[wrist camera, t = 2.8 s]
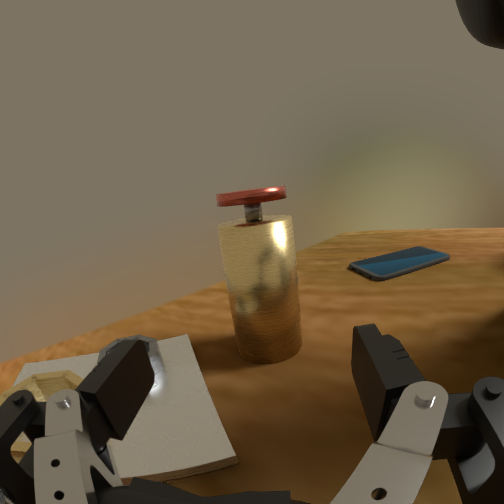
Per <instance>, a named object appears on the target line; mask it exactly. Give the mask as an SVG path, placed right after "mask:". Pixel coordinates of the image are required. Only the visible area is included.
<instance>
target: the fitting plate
mask: <svg viewBox="0 0 504 504" xmlns="http://www.w3.org/2000/svg"><path fill="white" fill-rule="evenodd" d="M124 339H137V340H142V341H143V342H144V344H145V347H146V350H147V353H148V356H149V359H150V361H151V364H152V367H153V370H154V374H155V381H154V385H153V387H152V389H151V390H150V392H149V394H148V396H147V397H146V399H145V401H144V403H143V405H142V406H141V408H140V410H139V412H138V413H137V415H136V417H135V419H134V421H133V422H132V424H131V426H130V428H129V430H128V431H127V433H126V435H125V437H124V439H123V441H121V440H116V439H112V438H110V439H109V440H108V443H109V445H110V446H111V449H112V453H113V456H114V460H115V463H116V466H117V470H118V473H119V476H120V479H121V481H122V483H123V485H130V483H131V481H132V479H133V477H138V478H142V479H146V480H151V481H156V482H161V481H167V480H172V479H178V478H183V477H188V476H192V475H197V474H201V473H205V472H209V471H213V470H217V469H221V468H224V467H228V466H231V465H235V464H238V460H237V457H236V454H235V452H234V450H233V448H232V445H231V443H230V441H229V439H228V437H227V434H226V432H225V430H224V428H223V425H222V423H221V421H220V418H219V416H218V414H217V411H216V409H215V406H214V404H213V401H212V399H211V396H210V394H209V391H208V389H207V386H206V384H205V381H204V379H203V376H202V373H201V371H200V368H199V365H198V362H197V360H196V357H195V354H194V351H193V349H192V346H191V343H190V340H189V337H188V334H186V335H182V336H178V337H173V338H169V339H164V340H160V341H157V340H156V339H154V338H150V337H146V336H142V335H135V336H130V337H125V338H120V339H117V340H115V341H113V342H112V343H110V344H109V345H107V346H106V347H104V348H103V349H101V350H100V352H99V353H94V354H88V355H82V356H76V357H70V358H63V359H56V360H49V361H42V362H34V363H25V365H24V366H23V368H22V370H21V372H20V374H19V375H18V377H17V379H16V381H15V383H14V384H13V386H12V388H10V389H9V390H7V391H5V392H4V393H2V395H1V397H0V406H1V405H2V403H3V402H4V401H5V400H6V399H7V398H8V397H9V396H10V395H11V394H13V393H14V392H16V391H19V390H29V391H31V393H32V394H33V396H34V398H35V399H36V401H39V402H47V400H48V399H49V398H50V396H52V395H53V394H54V393H56V392H58V391H60V390H64V389H72V390H75V389H76V388H77V387H78V385H79V384H80V383H81V382H82V381H83V380H84V379H85V377H86V376H87V375H88V374H89V373H90V372H91V371H92V369H93V368H94V367H95V366H96V365H98V363H99V362H100V360H101V359H102V358H103V357H104V356H106V355H107V354H109V353H110V352H112V351H113V350H114V349H115V348H116V347H117V346H118V345H119V343H120V342H121V341H122V340H124ZM31 445H32V443H31V442H30V440H29V439H28V438H27V436H26V435H25V434H24V432H23V431H22V433H21V434H20V435H19V437H18V438H17V439H16V441H15V442H14V443H13V445H12V446H11V455H12V457H13V459H14V460H15V461H16V462H17V463H19V462H20V460H21V459H22V458H23V456H24V455H25V453H26V452H27V450H28V449H29V447H30V446H31Z"/></svg>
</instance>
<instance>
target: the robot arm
mask: <svg viewBox="0 0 504 504" xmlns="http://www.w3.org/2000/svg"><path fill="white" fill-rule="evenodd" d="M456 3H457V7H458V10H459V13H460V16H461V18H462V21H463V23H464V24H465V26H466V28H467V29H468V31H469V32H470V34H471V35H472V36H473V37H474V38H475V39H476V40H477V41H479V42H480V43H482V44H484V45H487V46H490V47H494V48H499V49H504V0H456ZM351 366H352V374H353V378H354V381H355V384H356V387H357V390H358V393H359V396H360V399H361V402H362V405H363V408H364V411H365V414H366V417H367V420H368V423H369V427H370V430H371V433H372V436H373V440H374V442H373V443H372V445H371V446H370V447H369V449H368V450H367V452H366V454H365V455H364V457H363V458H362V460H361V461H360V463H359V464H358V466H357V467H356V469H355V470H354V472H353V473H352V475H351V476H350V478H349V479H348V480H347V482H346V483H345V485H344V486H343V487H342V489H341V490H340V491H339V493H338V494H337V495H336V497H335V498H334V499H333V500H332V502H331V503H330V504H413V502H414V500H415V498H416V496H417V493H418V491H419V489H420V487H421V485H422V483H423V480H424V478H425V476H426V473H427V471H428V468H429V466H430V463H431V460H438V459H447V460H448V463H449V465H450V468H451V471H452V473H453V476H454V479H455V482H456V485H457V488H458V491H459V494H460V497H461V500H462V503H463V504H504V380H503V379H501V378H498V377H493V376H489V377H484V378H482V379H480V380H478V381H477V382H476V383H475V385H474V387H473V390H472V392H469V393H458V394H447V392H446V390H445V389H444V388H443V387H442V386H441V385H439V384H437V383H434V382H429V381H426V380H425V379H424V377H423V376H422V374H421V373H420V371H419V370H418V368H417V367H416V365H415V364H414V362H413V360H412V359H411V357H410V358H409V355H408V353H407V352H406V351H405V349H404V347H403V346H402V344H401V343H400V341H399V340H397V339H396V338H394V337H392V336H391V335H389V334H388V335H381V333H380V332H379V330H378V328H377V327H376V325H375V324H367V325H361V326H355V327H354V328H353V341H352V360H351ZM154 381H155V374H154V370H153V367H152V364H151V361H150V359H149V356H148V353H147V350H146V347H145V344H144V342H143V341H142V340H137V339H124V340H122V341H121V342H120V343H119V345H118V346H117V347H116V348H115V349H114V350H113V351H112V352H110V353H109V354H107V355H106V356H104V357H103V358H102V359H101V360H100V362H99V363H98V365H96V366H95V367H94V368H93V369H92V371H91V372H90V373H89V374H88V375H87V376H86V377H85V379H84V380H83V381H82V382H81V383H80V384H79V385H78V387H77V388H76V389H75V390H72V389H64V390H60V391H58V392H56V393H54V394H53V395H52V396H50V398H49V399H48V400H47V402H39V401H36V399H35V398H34V396H33V394H32V393H31V391H29V390H19V391H16V392H14V393H13V394H11V395H10V396H9V397H8V398H7V399H6V400H5V401H4V402H3V403H2V405H1V406H0V504H310V503H306V502H301V501H295V500H291V498H290V491H268V492H242V493H235V494H228V495H221V496H212V497H201V496H198V495H195V494H192V493H189V492H187V491H184V490H181V489H179V488H176V487H174V486H171V485H169V484H166V483H161V482H156V481H151V480H146V479H142V478H138V477H133V479H132V481H131V483H130V485H123V483H122V481H121V479H120V476H119V473H118V470H117V466H116V463H115V460H114V456H113V453H112V449H111V446H110V445H109V443H108V440H109V439H110V438H112V439H116V440H121V441H123V439H124V437H125V435H126V433H127V431H128V430H129V428H130V426H131V424H132V422H133V421H134V419H135V417H136V415H137V413H138V412H139V410H140V408H141V406H142V405H143V403H144V401H145V399H146V397H147V396H148V394H149V392H150V390H151V389H152V387H153V385H154ZM22 431H23V432H24V434H25V435H26V436H27V438H28V439H29V440H30V442H31V443H32V445H31V446H30V447H29V449H28V450H27V452H26V453H25V455H24V456H23V458H22V459H21V460H20V462H19V463H17V462H16V461H15V460H14V459H13V457H12V455H11V446H12V445H13V443H14V442H15V441H16V439H17V438H18V437H19V435H20V434H21V433H22ZM375 441H377V442H375Z"/></svg>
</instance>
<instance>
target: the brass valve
mask: <svg viewBox="0 0 504 504" xmlns="http://www.w3.org/2000/svg"><path fill="white" fill-rule="evenodd" d="M286 197H287V196H286V188H285V186H275V187H264V188H256V189H248V190H241V191H234V192H227V193H221V194H216V200H217V206H220V207H221V206H233V205H234V206H235V205H244V211H245V218H243V219H237V220H233V221H229V222H225V223H222V224H220V225H218V226H217V227H218V234H219V240H220V247H221V253H222V259H223V266H224V272H225V278H226V284H227V290H228V296H229V302H230V308H231V314H232V319H233V325H234V331H235V336H236V342H237V347H238V352H239V354H240V355H241V357H243V358H244V359H246V360H248V361H250V362H254V363H260V364H270V363H277V362H281V361H284V360H286V359H289V358H291V357H292V356H294V355H295V354H296V353H298V351H299V350H300V349H301V346H302V333H301V318H300V303H299V290H298V277H297V266H296V255H295V245H294V234H293V225H292V217H291V216H288V215H268V216H263V215H262V207H261V202H266V201H273V200H279V199H284V198H286Z"/></svg>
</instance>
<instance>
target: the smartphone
mask: <svg viewBox="0 0 504 504" xmlns="http://www.w3.org/2000/svg"><path fill="white" fill-rule="evenodd" d="M449 259H450V256H449V254H447V253H443V252H440V251H436V250H433V249H429V248H426V247H421V246H418V247H413V248H409V249H405V250H401V251H397V252H393V253H389V254H385V255H381V256H377V257H373V258H368V259H364V260H360V261H356V262H352V263H350V264H349V268H350V269H354V270H356V272H358V273H361V274H363V275H364V276H366V277H368V278H372V280H375V281H385V280H389V279H392V278H395V277H398V276H401V275H405V274H408V273H411V272H414V271H417V270H420V269H423V268H426V267H429V266H432V265H435V264H438V263H441V262H444V261H447V260H449Z"/></svg>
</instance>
